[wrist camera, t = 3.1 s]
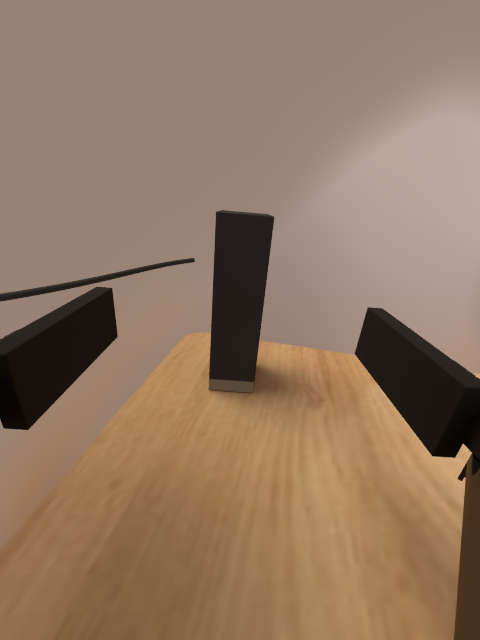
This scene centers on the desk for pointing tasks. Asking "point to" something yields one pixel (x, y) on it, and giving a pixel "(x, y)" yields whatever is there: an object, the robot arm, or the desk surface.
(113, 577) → the desk surface
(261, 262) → the black tall block
